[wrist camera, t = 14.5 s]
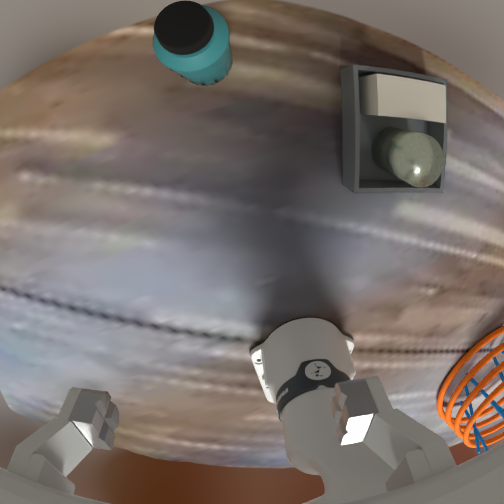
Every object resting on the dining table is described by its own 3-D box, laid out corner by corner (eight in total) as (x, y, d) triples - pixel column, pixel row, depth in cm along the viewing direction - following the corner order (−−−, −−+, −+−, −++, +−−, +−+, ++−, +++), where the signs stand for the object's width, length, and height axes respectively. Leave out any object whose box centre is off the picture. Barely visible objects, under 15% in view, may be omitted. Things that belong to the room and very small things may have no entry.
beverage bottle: (216, 32, 32) (198, -33, 14) (243, 71, 35) (249, 33, 16) (172, 58, 33) (117, 17, 15) (199, 98, 36) (163, 84, 18)
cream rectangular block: (420, 119, 37) (446, 123, 31) (357, 114, 36) (378, 115, 31) (419, 86, 35) (445, 85, 29) (356, 78, 34) (376, 73, 28)
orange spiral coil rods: (421, 423, 73) (443, 484, 51) (445, 336, 61) (490, 408, 38) (505, 391, 69) (534, 440, 47) (538, 305, 57) (585, 354, 34)
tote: (425, 183, 42) (442, 192, 37) (342, 183, 41) (354, 193, 37) (427, 80, 35) (446, 79, 30) (339, 69, 35) (352, 64, 30)
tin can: (407, 174, 40) (438, 190, 32) (369, 168, 40) (395, 183, 32) (414, 131, 37) (447, 140, 30) (374, 123, 37) (403, 128, 29)
